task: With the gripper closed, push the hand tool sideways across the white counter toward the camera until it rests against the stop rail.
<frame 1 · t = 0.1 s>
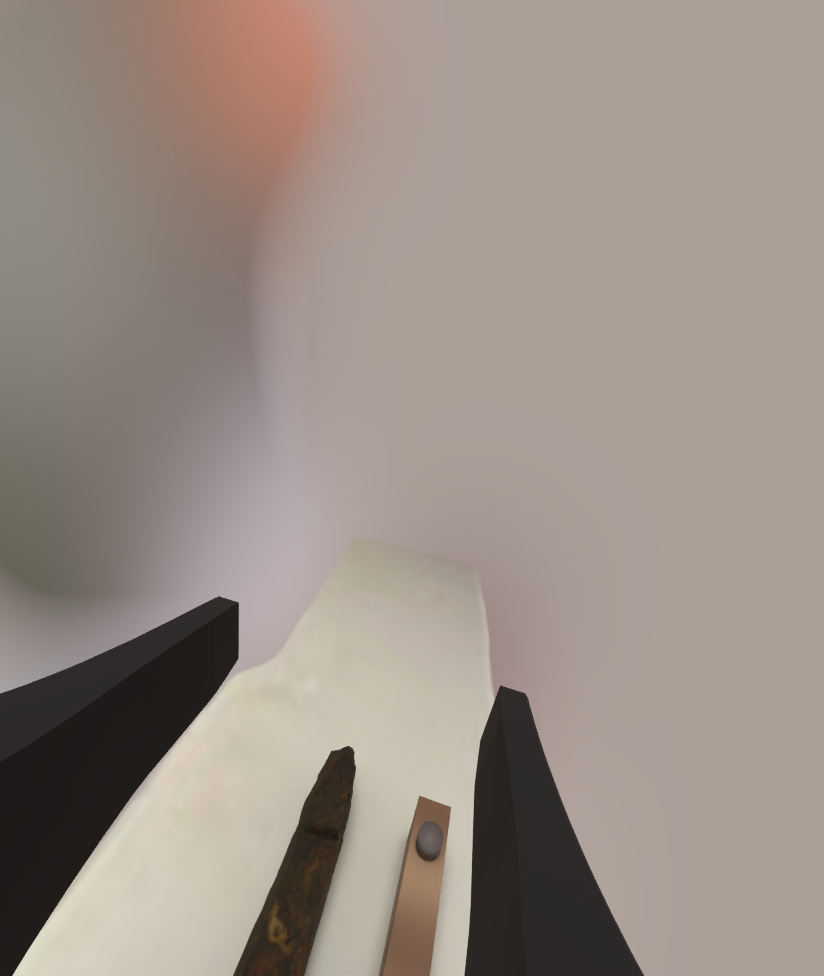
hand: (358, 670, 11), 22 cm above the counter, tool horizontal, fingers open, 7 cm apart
hand tool: (273, 951, 21), on the counter
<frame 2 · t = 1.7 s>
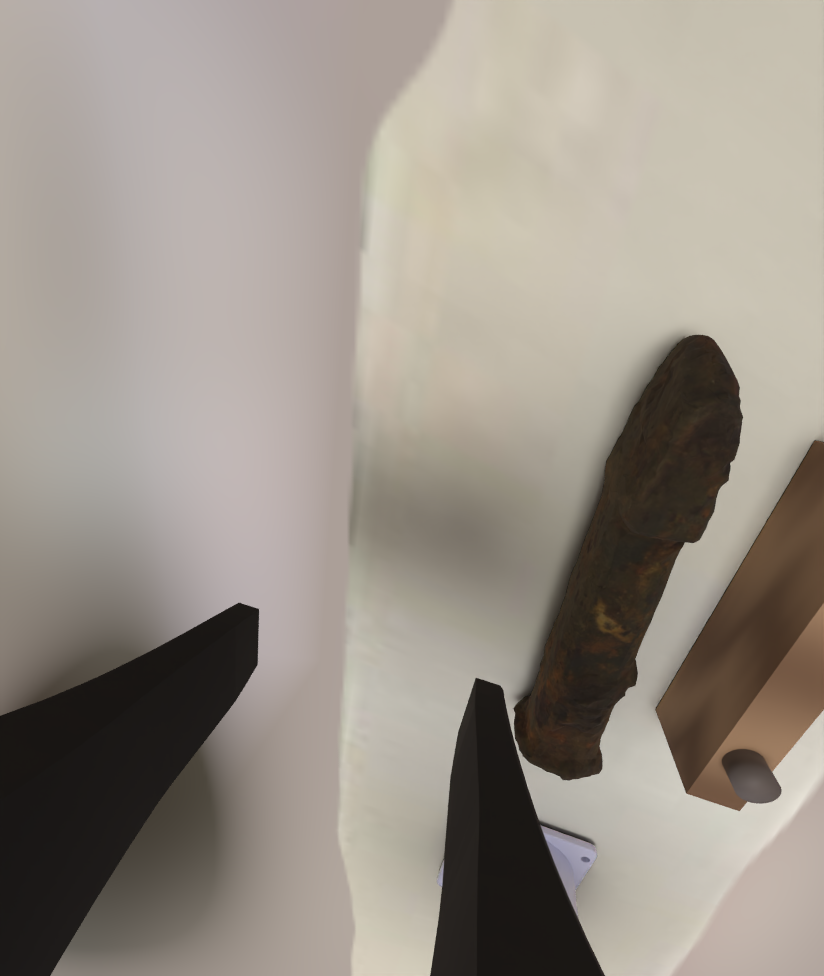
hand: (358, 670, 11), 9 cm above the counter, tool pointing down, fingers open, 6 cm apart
hand tool: (589, 555, 19), on the counter
stop rail: (747, 603, 17), on the counter
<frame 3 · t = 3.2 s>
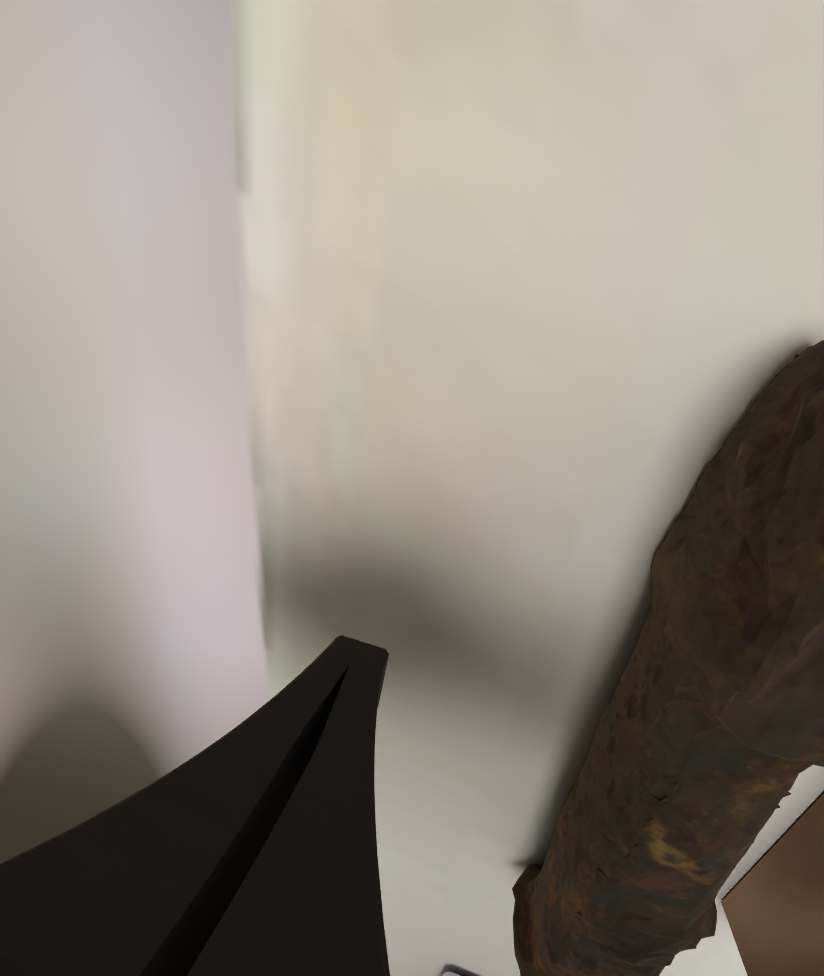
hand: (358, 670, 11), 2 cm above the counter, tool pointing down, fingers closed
hand tool: (623, 685, 12), on the counter
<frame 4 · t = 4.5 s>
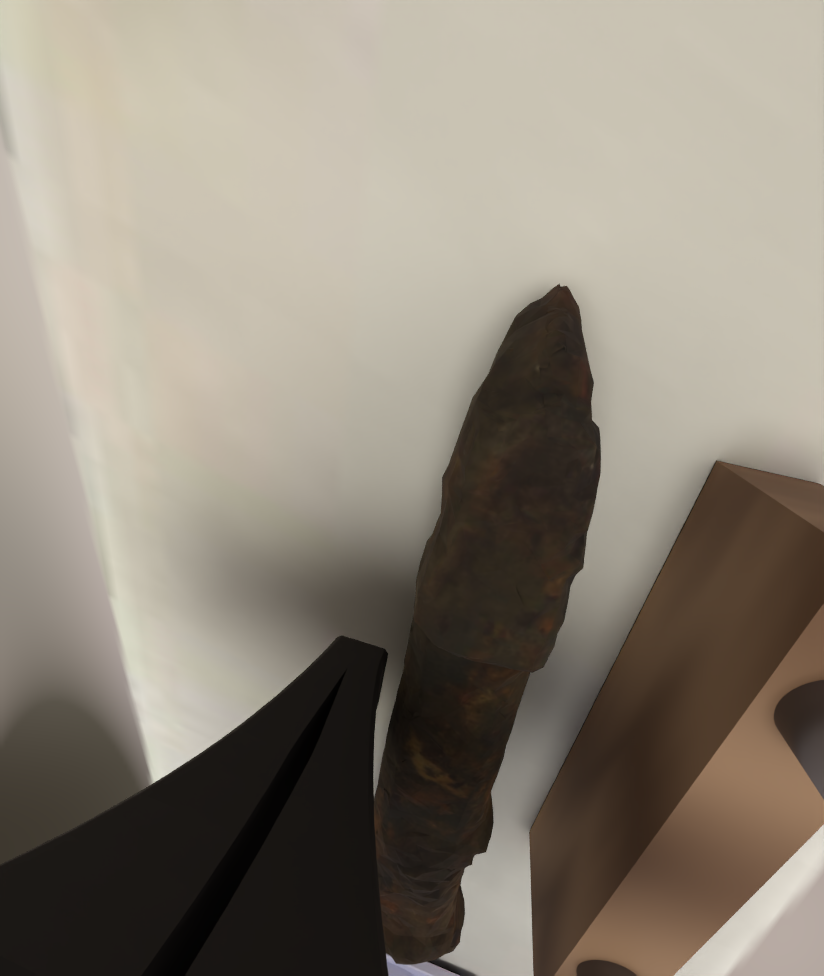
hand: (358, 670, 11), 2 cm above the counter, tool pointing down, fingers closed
hand tool: (447, 631, 13), on the counter
stop rail: (637, 702, 11), on the counter
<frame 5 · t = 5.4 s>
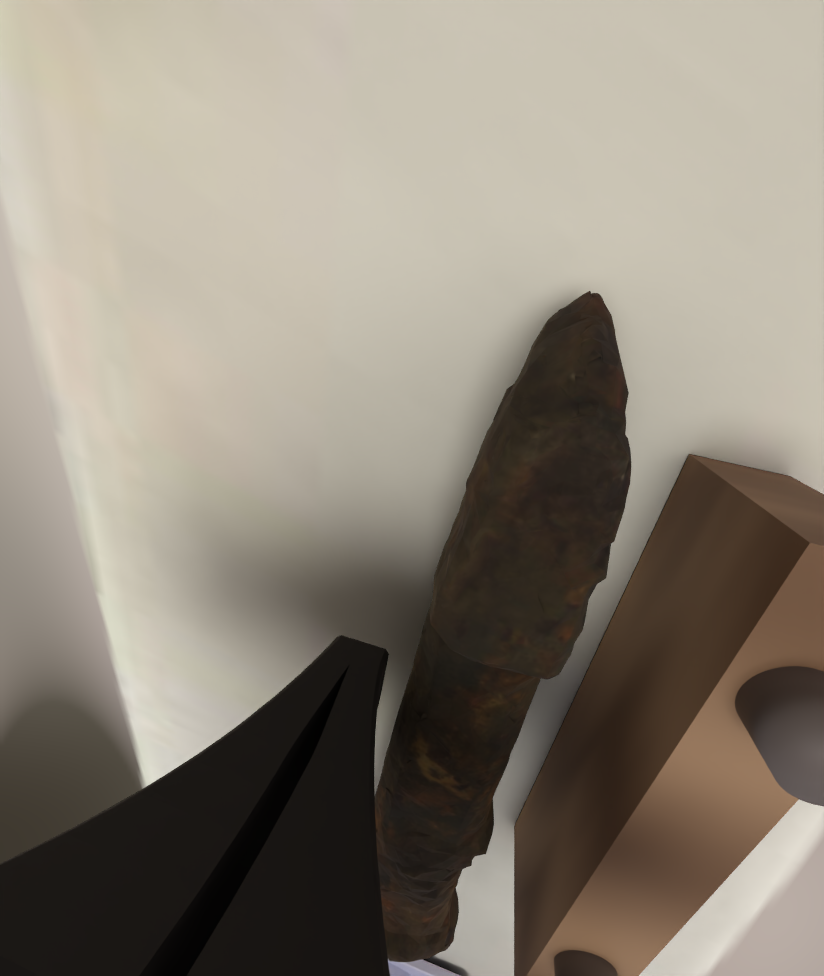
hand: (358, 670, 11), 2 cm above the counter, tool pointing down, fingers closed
hand tool: (452, 633, 13), on the counter
stop rail: (617, 695, 12), on the counter
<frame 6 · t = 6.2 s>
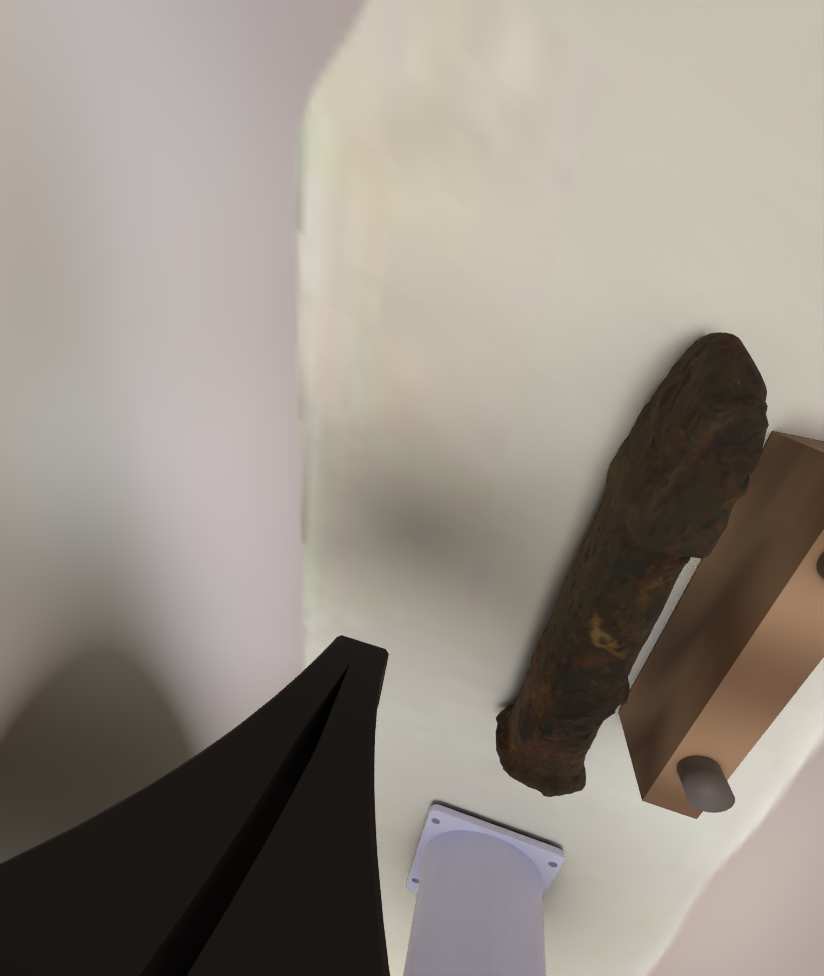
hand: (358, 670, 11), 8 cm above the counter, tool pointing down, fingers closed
hand tool: (584, 563, 18), on the counter
stop rail: (708, 602, 17), on the counter
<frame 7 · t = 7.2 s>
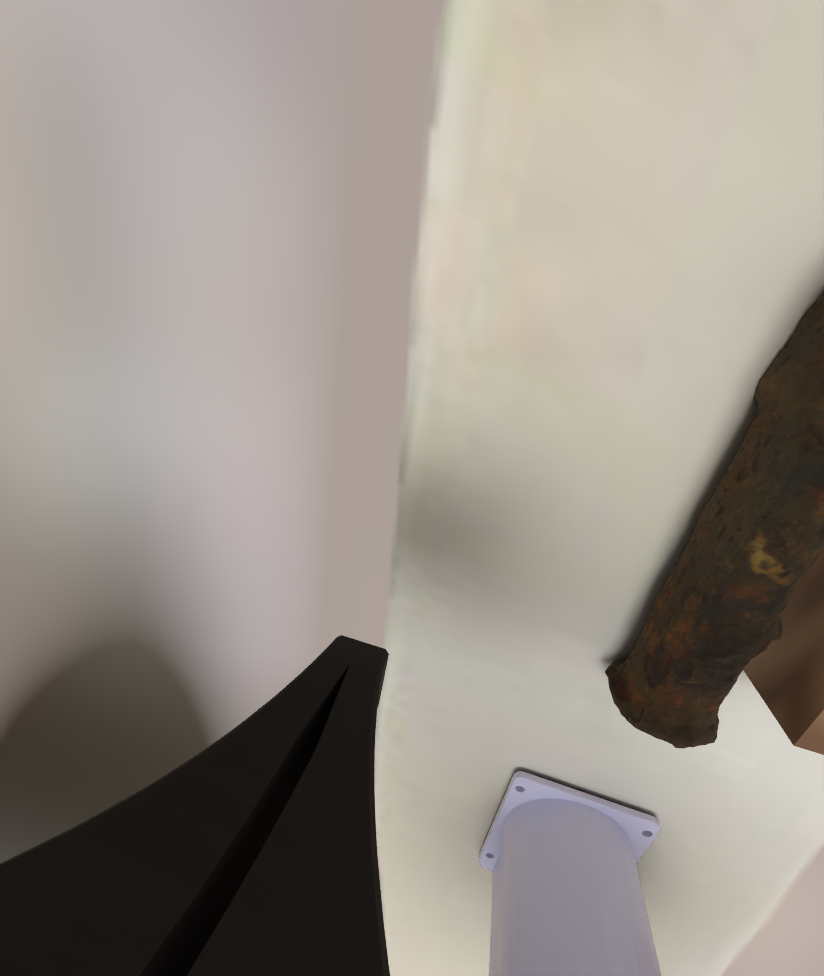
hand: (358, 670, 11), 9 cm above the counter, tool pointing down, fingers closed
hand tool: (714, 497, 17), on the counter
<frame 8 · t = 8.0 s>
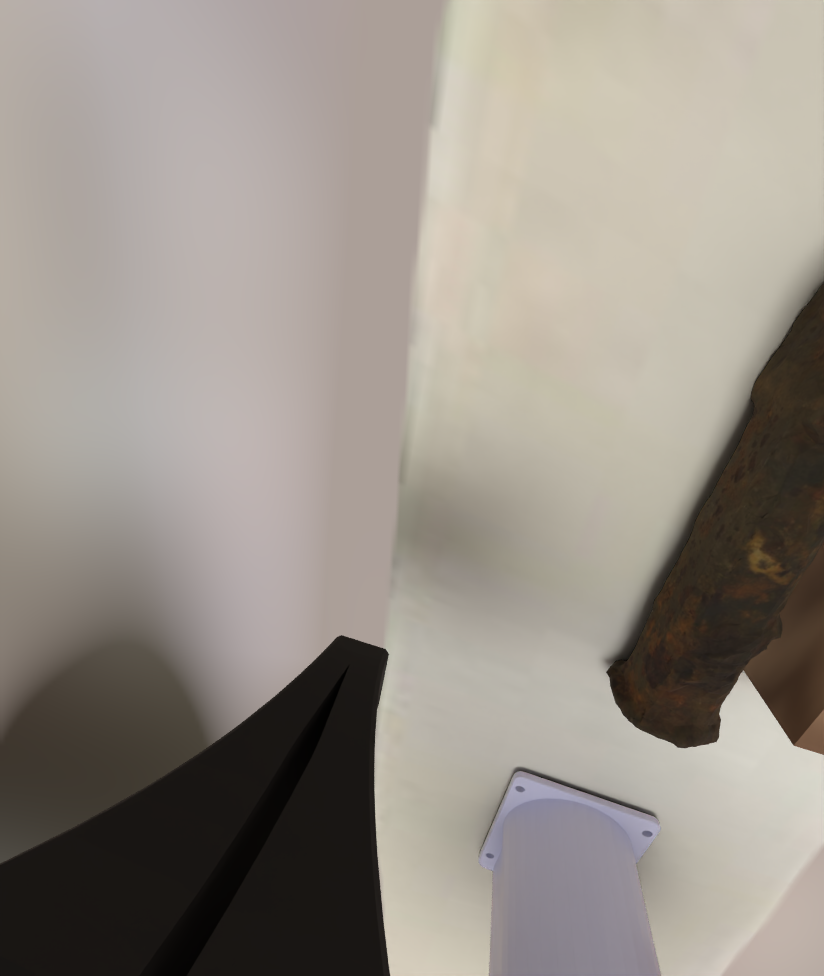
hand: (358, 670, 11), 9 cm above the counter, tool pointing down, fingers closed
hand tool: (713, 497, 17), on the counter
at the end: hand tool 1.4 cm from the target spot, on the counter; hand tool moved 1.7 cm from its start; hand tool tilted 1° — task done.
